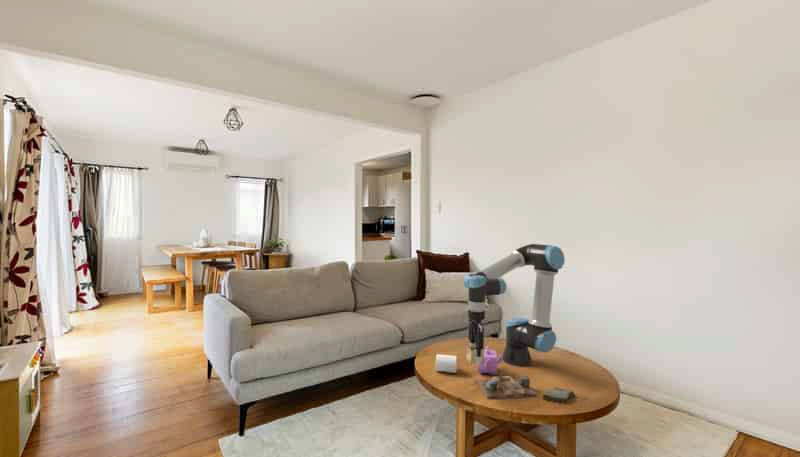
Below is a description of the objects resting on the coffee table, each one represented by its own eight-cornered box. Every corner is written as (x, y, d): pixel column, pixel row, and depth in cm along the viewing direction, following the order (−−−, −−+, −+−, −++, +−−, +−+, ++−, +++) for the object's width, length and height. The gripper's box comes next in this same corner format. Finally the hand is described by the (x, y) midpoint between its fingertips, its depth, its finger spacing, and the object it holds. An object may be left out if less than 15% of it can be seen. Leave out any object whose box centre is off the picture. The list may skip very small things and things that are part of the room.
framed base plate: (520, 380, 175) (520, 375, 174) (537, 396, 160) (537, 390, 160) (474, 383, 171) (474, 377, 171) (487, 398, 156) (487, 392, 156)
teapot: (466, 368, 188) (467, 347, 187) (486, 363, 194) (487, 343, 194) (487, 380, 175) (488, 357, 174) (507, 374, 181) (508, 353, 181)
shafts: (526, 383, 169) (526, 375, 169) (533, 390, 163) (533, 381, 163) (481, 385, 165) (482, 377, 165) (487, 392, 159) (487, 383, 159)
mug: (455, 375, 178) (456, 359, 178) (435, 373, 180) (436, 357, 180) (457, 366, 190) (457, 351, 190) (437, 364, 192) (438, 349, 192)
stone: (557, 390, 167) (558, 383, 167) (576, 397, 160) (576, 390, 160) (541, 400, 157) (541, 393, 157) (560, 408, 151) (560, 401, 151)
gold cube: (478, 358, 170) (479, 345, 170) (483, 363, 164) (484, 350, 164) (466, 358, 169) (466, 345, 169) (470, 363, 163) (471, 350, 163)
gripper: (462, 304, 175) (461, 352, 176) (475, 315, 156) (474, 369, 157) (477, 304, 176) (475, 352, 177) (492, 315, 157) (491, 368, 158)
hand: (475, 359), depth 167 cm, fingers closed on gold cube, 6 cm apart
